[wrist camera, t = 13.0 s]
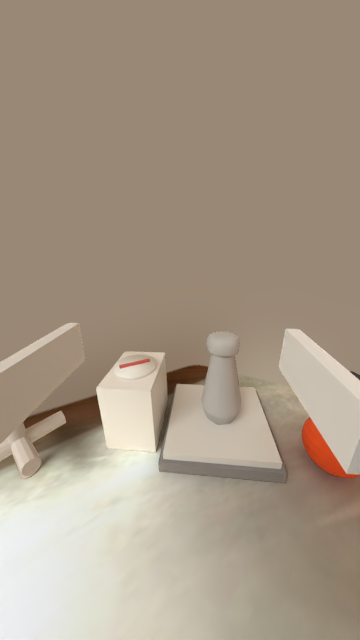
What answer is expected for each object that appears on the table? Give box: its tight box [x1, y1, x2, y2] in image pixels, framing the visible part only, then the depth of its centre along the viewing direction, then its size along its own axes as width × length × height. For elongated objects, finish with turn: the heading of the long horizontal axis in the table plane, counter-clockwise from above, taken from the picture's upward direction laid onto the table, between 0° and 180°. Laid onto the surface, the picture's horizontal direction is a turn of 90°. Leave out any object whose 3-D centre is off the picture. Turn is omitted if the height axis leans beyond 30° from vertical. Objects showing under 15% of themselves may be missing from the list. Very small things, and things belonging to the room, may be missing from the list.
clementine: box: [302, 418, 360, 478], centre depth 25 cm, size 8×7×7 cm
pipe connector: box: [0, 411, 66, 479], centre depth 25 cm, size 10×10×10 cm
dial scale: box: [96, 352, 287, 483], centre depth 31 cm, size 23×15×11 cm, turn 84°
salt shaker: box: [201, 331, 241, 425], centre depth 29 cm, size 6×6×13 cm
